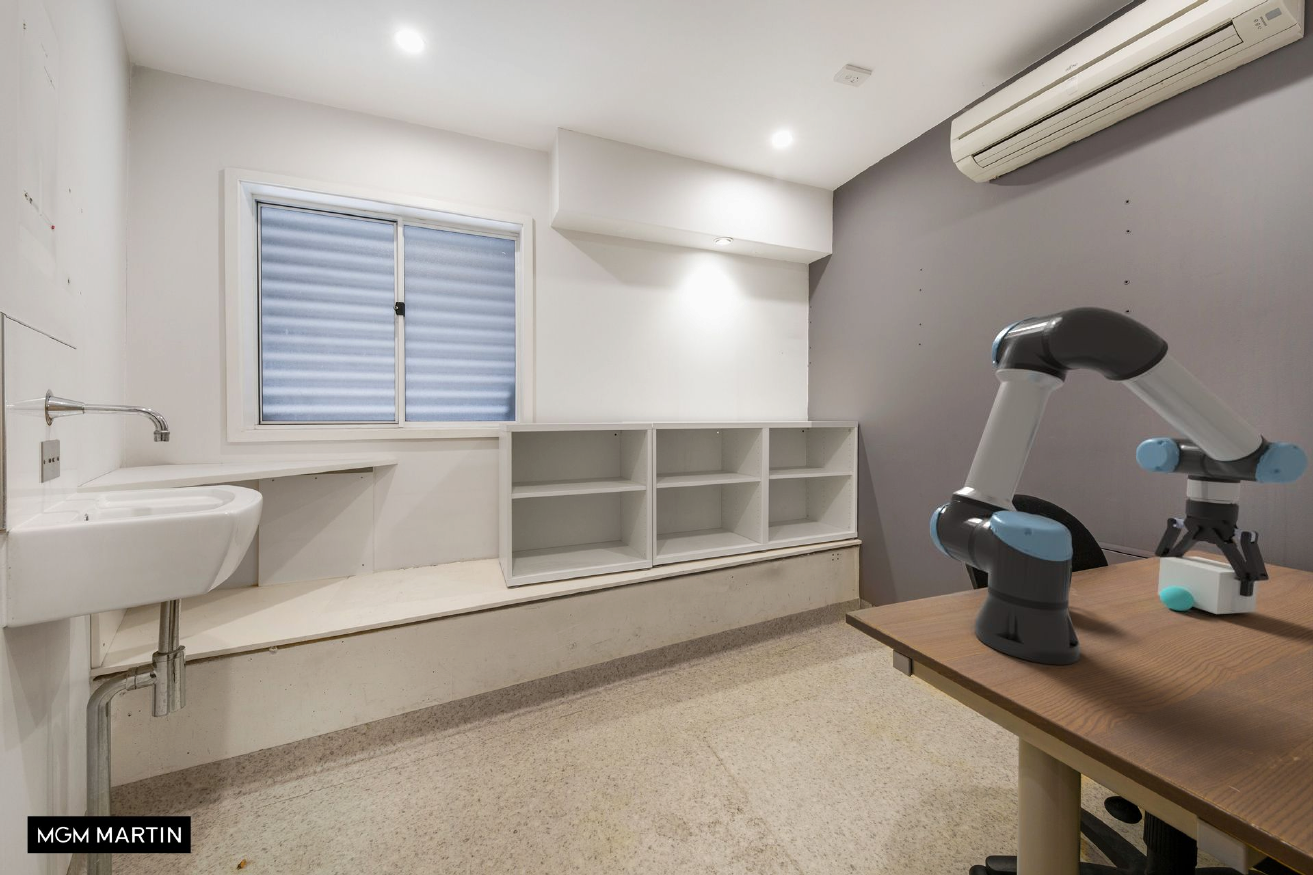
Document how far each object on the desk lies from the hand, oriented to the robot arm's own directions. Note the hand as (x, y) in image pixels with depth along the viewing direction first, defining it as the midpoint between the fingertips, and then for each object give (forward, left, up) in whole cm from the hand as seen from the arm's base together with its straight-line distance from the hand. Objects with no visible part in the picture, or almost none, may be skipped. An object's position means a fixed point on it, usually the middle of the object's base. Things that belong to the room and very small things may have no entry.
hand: (1204, 599), depth 104 cm
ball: (-7, -3, +1) cm, 8 cm away
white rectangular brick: (0, 0, -1) cm, 1 cm away
